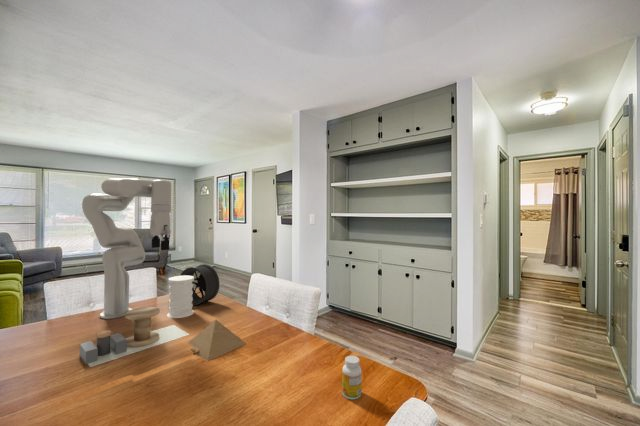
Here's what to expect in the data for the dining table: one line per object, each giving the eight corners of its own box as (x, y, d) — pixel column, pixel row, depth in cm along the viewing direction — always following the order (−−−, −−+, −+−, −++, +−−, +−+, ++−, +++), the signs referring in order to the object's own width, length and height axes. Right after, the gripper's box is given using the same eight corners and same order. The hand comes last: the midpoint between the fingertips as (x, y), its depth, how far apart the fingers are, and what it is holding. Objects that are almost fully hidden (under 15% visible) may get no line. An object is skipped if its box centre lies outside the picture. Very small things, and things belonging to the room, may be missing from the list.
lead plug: (94, 353, 95) (95, 332, 95) (108, 349, 98) (108, 329, 98) (98, 357, 92) (98, 336, 92) (112, 353, 95) (112, 332, 95)
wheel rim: (219, 303, 152) (219, 266, 152) (206, 308, 144) (207, 269, 144) (191, 297, 160) (192, 262, 160) (177, 302, 152) (178, 265, 152)
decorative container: (186, 310, 141) (186, 274, 141) (199, 315, 134) (199, 277, 134) (162, 316, 132) (162, 278, 131) (174, 322, 125) (175, 282, 125)
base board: (79, 355, 96) (79, 352, 96) (173, 327, 120) (173, 324, 120) (90, 371, 87) (90, 367, 87) (189, 337, 111) (189, 334, 111)
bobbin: (119, 340, 104) (120, 312, 104) (152, 331, 113) (152, 305, 113) (130, 350, 97) (130, 320, 97) (164, 339, 106) (164, 311, 106)
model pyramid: (180, 348, 103) (180, 320, 103) (221, 332, 117) (222, 308, 117) (205, 363, 93) (205, 333, 93) (247, 344, 107) (248, 318, 107)
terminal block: (79, 355, 93) (79, 343, 93) (118, 343, 102) (119, 332, 102) (85, 364, 88) (85, 351, 88) (126, 351, 97) (126, 339, 97)
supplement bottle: (340, 388, 81) (341, 354, 81) (358, 387, 82) (359, 354, 82) (343, 400, 76) (344, 364, 76) (363, 399, 76) (364, 364, 76)
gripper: (143, 208, 124) (143, 247, 124) (160, 209, 113) (159, 251, 113) (162, 208, 130) (161, 246, 130) (179, 209, 119) (178, 250, 119)
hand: (160, 248), depth 121 cm, fingers open, 9 cm apart
